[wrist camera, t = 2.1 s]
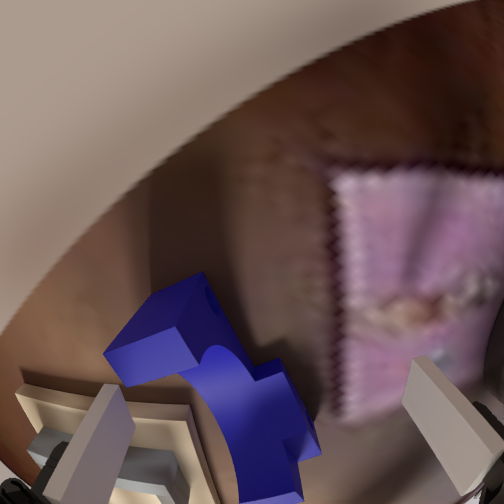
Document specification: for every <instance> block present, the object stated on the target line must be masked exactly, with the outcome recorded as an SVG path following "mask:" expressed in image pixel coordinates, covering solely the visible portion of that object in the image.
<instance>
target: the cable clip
mask: <svg viewBox="0 0 504 504" xmlns="http://www.w3.org/2000/svg"><path fill="white" fill-rule="evenodd" d="M103 355H104V356H105V358H106V359H107V361H108V362H109V364H110V365H111V367H112V368H113V369H114V371H115V372H116V374H117V375H118V376H119V378H120V379H121V381H122V382H123V383H124V385H125V386H126V387H127V388H128V387H131V386H135V385H138V384H142V383H145V382H149V381H152V380H156V379H159V378H162V377H165V376H169V375H172V374H175V373H178V374H179V375H181V376H182V377H183V378H185V379H186V380H187V381H188V382H189V383H190V384H191V385H192V386H193V387H194V388H195V389H196V390H197V391H198V393H199V394H200V395H201V396H202V398H203V399H204V400H205V402H206V403H207V405H208V406H209V408H210V410H211V411H212V413H213V415H214V417H215V418H216V420H217V422H218V424H219V426H220V428H221V430H222V433H223V435H224V437H225V440H226V442H227V445H228V448H229V451H230V454H231V457H232V460H233V464H234V468H235V472H236V477H237V483H238V492H239V504H296V503H300V502H304V497H303V491H302V485H301V479H300V474H299V468H298V462H300V461H303V460H306V459H309V458H312V457H315V456H318V455H321V454H322V453H321V449H320V445H319V441H318V438H317V434H316V430H315V426H314V423H313V421H312V419H311V417H310V415H309V413H308V411H307V409H306V407H305V406H304V404H303V402H302V400H301V398H300V396H299V394H298V392H297V390H296V388H295V386H294V384H293V382H292V380H291V378H290V377H289V375H288V373H287V371H286V369H285V367H284V365H283V363H282V361H281V359H280V358H277V359H275V360H272V361H269V362H267V363H264V364H262V365H259V366H256V367H254V366H253V364H252V363H251V361H250V359H249V357H248V355H247V354H246V352H245V350H244V348H243V346H242V345H241V343H240V341H239V339H238V337H237V336H236V334H235V332H234V330H233V328H232V326H231V325H230V323H229V321H228V319H227V317H226V315H225V313H224V312H223V310H222V308H221V306H220V304H219V302H218V300H217V298H216V296H215V294H214V293H213V291H212V289H211V287H210V285H209V283H208V281H207V279H206V277H205V275H204V273H203V272H200V273H198V274H196V275H194V276H191V277H189V278H187V279H185V280H182V281H180V282H178V283H176V284H174V285H171V286H169V287H167V288H165V289H162V290H160V291H158V292H156V293H154V294H151V295H150V296H149V298H148V299H147V300H146V301H145V302H144V304H143V305H142V306H141V307H140V308H139V310H138V311H137V312H136V313H135V314H134V316H133V317H132V318H131V319H130V320H129V322H128V323H127V324H126V325H125V327H124V328H123V329H122V330H121V332H120V333H119V334H118V335H117V336H116V338H115V339H114V340H113V341H112V343H111V344H110V345H109V346H108V348H107V349H106V350H105V352H104V353H103Z"/></svg>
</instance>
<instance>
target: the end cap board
mask: <svg viewBox="0 0 504 504" xmlns="http://www.w3.org/2000/svg"><path fill="white" fill-rule="evenodd" d="M15 395H16V397H17V398H18V400H19V402H20V404H21V406H22V408H23V409H24V411H25V413H26V415H27V417H28V418H29V420H30V422H31V423H32V425H33V427H34V428H35V430H36V431H37V433H38V434H37V436H36V437H35V439H34V440H33V441H32V443H31V444H30V446H29V447H28V449H27V451H28V452H29V454H30V455H31V456H32V458H33V459H34V460H35V462H36V463H37V464H38V465H39V467H40V468H41V469H42V468H43V466H44V465H45V463H46V461H47V459H48V458H49V456H50V454H51V452H52V451H53V449H54V447H56V446H57V445H58V444H59V443H61V442H62V441H65V442H69V443H70V441H71V439H72V437H73V436H74V434H75V432H76V430H77V429H78V427H79V425H80V423H81V422H82V420H83V418H84V417H85V415H86V413H87V411H88V410H89V408H90V406H91V405H92V403H93V401H94V400H95V398H96V397H89V396H83V395H77V394H71V393H66V392H61V391H56V390H51V389H46V388H42V387H38V386H33V385H29V384H25V383H24V384H23V385H22V386H21V387H20V388H19V389H18V390H17V391H16V392H15ZM125 402H126V404H127V407H128V409H129V412H130V414H131V416H132V419H133V421H134V423H135V426H136V428H135V431H134V433H133V436H132V439H131V441H130V444H129V447H128V449H127V452H126V455H125V458H124V460H123V463H122V466H121V469H120V472H119V474H118V477H117V480H116V483H115V486H114V489H113V492H112V495H111V497H110V500H109V503H108V504H221V503H220V500H219V497H218V495H217V492H216V489H215V486H214V483H213V480H212V478H211V475H210V472H209V469H208V466H207V462H206V459H205V456H204V453H203V450H202V447H201V443H200V440H199V437H198V433H197V430H196V426H195V423H194V419H193V415H192V412H191V408H190V405H179V404H156V403H142V402H130V401H125Z"/></svg>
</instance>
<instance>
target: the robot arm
mask: <svg viewBox="0 0 504 504" xmlns="http://www.w3.org/2000/svg"><path fill="white" fill-rule="evenodd" d="M484 380H485V385H486V387H487V389H488V390H489V391H490V392H491V393H492V394H493V395H494V396H495V397H496V398H497V399H498V400H499V401H500V402H501V403H503V404H504V303H503V306H502V308H501V311H500V313H499V316H498V318H497V321H496V324H495V327H494V329H493V332H492V335H491V339H490V342H489V346H488V350H487V354H486V359H485V366H484ZM401 403H402V404H403V406H404V407H405V409H406V410H407V412H408V413H409V415H410V416H411V418H412V419H413V421H414V422H415V424H416V425H417V427H418V428H419V430H420V432H421V433H422V435H423V436H424V438H425V439H426V441H427V442H428V444H429V446H430V447H431V449H432V450H433V452H434V453H435V455H436V457H437V458H438V460H439V461H440V463H441V465H442V466H443V468H444V469H445V471H446V473H447V474H448V476H449V477H450V479H451V481H452V482H453V484H454V486H455V487H456V489H457V491H458V492H459V494H460V496H463V495H465V494H467V493H468V492H470V491H472V490H473V489H475V488H476V487H477V486H478V485H479V483H480V482H481V481H482V480H483V482H484V483H485V484H484V485H483V487H482V488H481V489H480V490H479V491H478V492H477V493H476V495H475V497H474V499H476V498H477V497H478V496H479V495H480V494H481V496H480V498H479V499H480V501H479V504H504V426H503V424H502V423H501V422H500V421H499V420H497V418H496V417H495V416H494V415H492V412H491V411H490V410H489V409H488V408H487V407H486V406H485V405H483V404H481V403H479V402H477V401H475V402H473V403H470V402H469V401H468V400H467V399H466V397H465V396H464V395H463V394H462V393H461V392H460V391H459V390H458V389H457V388H456V387H455V386H454V384H453V383H452V382H451V381H450V380H449V379H448V378H447V377H446V376H445V375H444V374H443V373H442V372H441V371H440V370H439V369H438V368H437V366H436V365H435V364H434V363H433V362H432V361H431V360H430V359H429V358H428V357H427V356H426V355H425V356H421V357H417V358H414V359H412V363H411V368H410V372H409V376H408V380H407V384H406V387H405V391H404V395H403V398H402V402H401ZM135 428H136V426H135V423H134V421H133V419H132V416H131V414H130V412H129V409H128V407H127V404H126V402H125V399H124V397H123V394H122V392H121V389H120V387H119V385H115V384H104V385H103V387H102V388H101V390H100V391H99V393H98V395H97V396H96V398H95V400H94V401H93V403H92V405H91V406H90V408H89V410H88V411H87V413H86V415H85V417H84V418H83V420H82V422H81V423H80V425H79V427H78V429H77V430H76V432H75V434H74V436H73V437H72V439H71V441H70V443H69V442H65V441H62V442H61V443H59V444H58V445H57V446H56V447H54V449H53V451H52V452H51V454H50V456H49V458H48V459H47V461H46V463H45V465H44V466H43V468H42V470H41V471H40V473H39V475H38V477H37V479H36V481H35V482H34V484H33V486H32V488H31V489H29V488H28V487H27V486H26V485H25V484H24V483H23V482H22V481H21V480H19V479H16V478H9V479H7V480H5V481H4V482H3V483H1V485H0V504H108V503H109V500H110V497H111V495H112V492H113V489H114V486H115V483H116V480H117V477H118V474H119V472H120V469H121V466H122V463H123V460H124V458H125V455H126V452H127V449H128V447H129V444H130V441H131V439H132V436H133V433H134V431H135Z"/></svg>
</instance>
